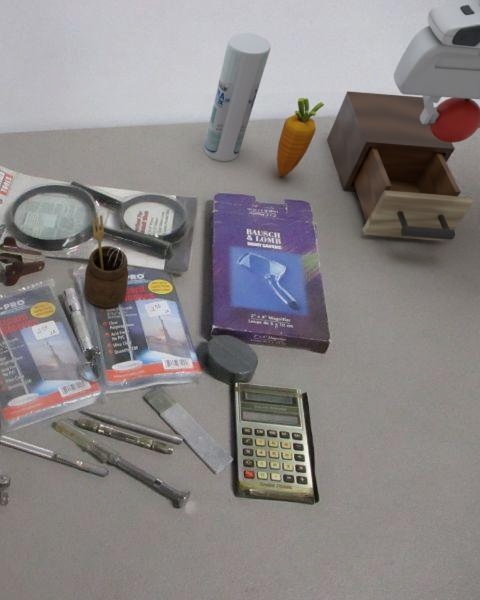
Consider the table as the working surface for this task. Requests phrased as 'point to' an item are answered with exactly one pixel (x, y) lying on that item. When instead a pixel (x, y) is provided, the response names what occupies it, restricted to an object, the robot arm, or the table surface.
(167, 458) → the table surface
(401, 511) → the table surface
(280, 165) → the carrot
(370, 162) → the drawer
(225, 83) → the spray can
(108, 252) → the utensil holder
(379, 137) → the cabinet
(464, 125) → the apple
